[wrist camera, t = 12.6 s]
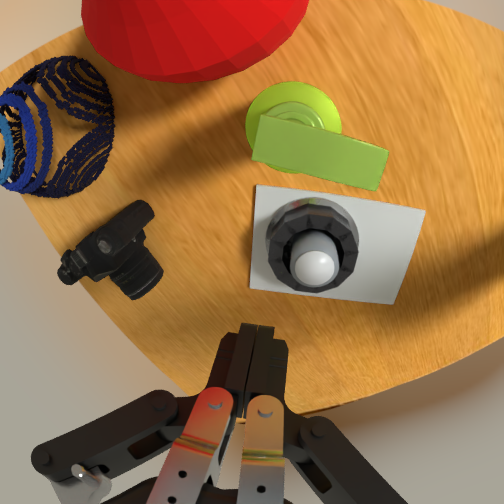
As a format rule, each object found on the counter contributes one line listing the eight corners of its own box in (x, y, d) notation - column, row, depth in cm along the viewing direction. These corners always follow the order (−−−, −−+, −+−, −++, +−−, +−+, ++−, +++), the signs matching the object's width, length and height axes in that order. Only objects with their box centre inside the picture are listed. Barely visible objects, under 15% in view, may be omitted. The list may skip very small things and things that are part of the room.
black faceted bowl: (367, 204, 31) (374, 216, 28) (347, 284, 36) (350, 301, 33) (269, 191, 32) (266, 202, 29) (262, 274, 38) (258, 290, 35)
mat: (424, 209, 30) (425, 211, 30) (392, 302, 37) (393, 304, 37) (256, 184, 32) (256, 185, 32) (250, 286, 39) (249, 288, 39)
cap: (338, 226, 32) (343, 250, 28) (331, 264, 35) (334, 291, 30) (294, 221, 33) (292, 244, 28) (290, 259, 35) (287, 286, 31)
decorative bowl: (71, 217, 39) (8, 268, 26) (8, 136, 33) (-57, 164, 20) (143, 119, 30) (59, 145, 18) (62, 33, 24) (-20, 34, 12)
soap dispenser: (326, 151, 29) (363, 238, 12) (261, 135, 29) (205, 198, 12) (339, 99, 26) (406, 106, 9) (273, 82, 26) (228, 59, 9)
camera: (123, 288, 44) (92, 330, 35) (83, 235, 40) (43, 270, 31) (187, 257, 39) (157, 306, 30) (141, 191, 35) (96, 225, 26)
